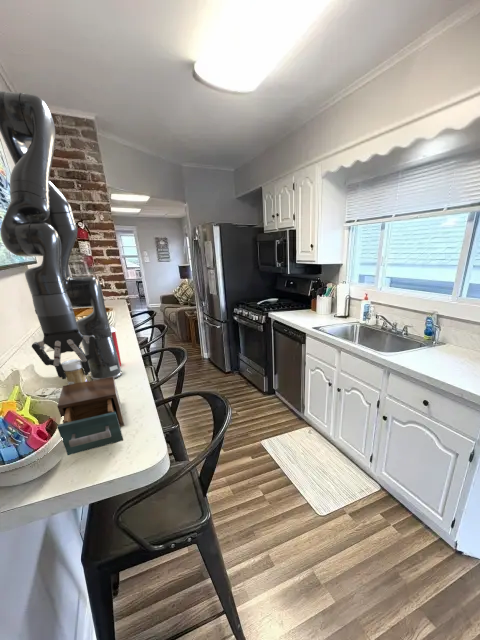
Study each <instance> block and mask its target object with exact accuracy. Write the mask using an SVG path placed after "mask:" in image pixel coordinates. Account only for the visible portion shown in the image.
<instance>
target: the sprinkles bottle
mask: <svg viewBox="0 0 480 640" xmlns="http://www.w3.org/2000/svg"><path fill="white" fill-rule="evenodd" d="M61 364H62V368H63V370H64V372H65V374H66V380H67V381H66V382H67V385H70V384H76V383H81V382H87V381H88V379H87V377H86V376H87V375H85V372H84V369H83V366H82V360H81V359H80V358H79V359H78V358H76V359H69V360H65V361H63V362H61Z"/></svg>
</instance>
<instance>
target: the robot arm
mask: <svg viewBox="0 0 480 640" xmlns="http://www.w3.org/2000/svg"><path fill="white" fill-rule="evenodd" d="M54 121H55V120H54V117H53V116H52V113H51V111H50V108H49V107H48V105H47V104H46V102H45V101H44V100H43V98H41V97H40V96H38V95H36V94H33V93H27V92H17V91H16V92H15V91H6V90H0V135H1V137H2V140H3V142H4V144H5V146H6V149H7V150H8V152H9V155H10V157H11V159H12V161H13V164H14V166H13V168H12V170H11V172H10V176H9V195H10V196H9V197H10V198H9V200H10V202H9V205H8V207H7V209H6V211H5V214H4V217H3V219H2V223H1V225H0V238H1V241H2V243H3V245H4V247H5V248H6V249H7V250H8V252H10V253H11V254H12V255H14V256H18V257H42V261H41V264H40V265H37V266H35V267H30V268H27V269H26V270H25V271H24V277H25V281H26V283H27V285H28V289H29V292H30V295H31V298H32V304H33V308H34V312H35V314H36V317H37V319H38V322H39V325H40V328H41V331H42V333H43V338H42V340H39V341H34V342H32V345H31V348H32V350H33V351H34V352H35V353H36V355H37V356H38V357H39V359H40V360H41V362H42V363H43V364H44V365H45V366H53V367H54V368H55V371H56V374H57V377H59V378H61V379H62V380H67V377H66V374H65V372H64V370H63V368H62V362H61V360H62V359H61V358H62V354H65V353H73V352H74V353H75V354H76V356H77V357H78V358H79V360H81V361H82V366H83V370H84V373H85V376H89V373H90V376H91V381H92V380H98V379H103V378H109V377H114V379H116V378H119V377H121V375H122V374H123V371H122V368H121V366H120V364H119V360H118V356H117V352H116V348H115V345H114V341H113V337H112V333H111V329H110V326H111V325H110V321H109V317H108V313H107V310H106V304H105V299H104V294H103V293H104V292H103V289H102V286H101V283H100V281H99V280H98V278H97V277H96V276H73V277H72V276H71V275H70V271H69V269H70V268H69V262H70V257H71V253H72V250H73V248H74V246H75V243H76V240H77V236H78V226H77V223H76V220H75V219H76V218H75V216H74V212H73V210H72V207H71V204H70V202H69V201H68V199H67V197H65V196H64V194H63V193H62V191H60V190H59V189H58V188H57V187H56V186H55V185H54V183H53V182H51V180H50V175H51V170H52V165H53V158H54V151H55V145H56V126H55V122H54ZM26 143H29V146H28V147H27V144H26ZM80 308H81V309H83V308H92V312H91V313H89V314H88V315H87V316H85V317H82V318H79V319H78V320H77V318H76V315H75V312H74V309H80ZM45 345H46V346H48V347H49V348H50V349H51V350H53V359H52V358H51V357H49V355H48V353H47V352H46V351H45V349H46V346H45ZM81 346H82V348H83V349H82V348H81Z"/></svg>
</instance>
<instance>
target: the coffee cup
mask: <svg viewBox="0 0 480 640" xmlns="http://www.w3.org/2000/svg"><path fill="white" fill-rule="evenodd" d="M110 329H111V333H112V337H113V341H114V345H115V348H116V352H117V356H118V360H119V364H120V367H122V361H121V360H122V359H121V355H120V349H119V344H118V339H117V329H116V328H115V327H114V326H113V325H110Z"/></svg>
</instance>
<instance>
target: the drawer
mask: <svg viewBox="0 0 480 640" xmlns="http://www.w3.org/2000/svg"><path fill="white" fill-rule="evenodd" d="M121 429H122V428H121V426H119V422H118V418H117V415H116V412H115V409H114V406H113V402H112V398H109V399H104V400H100V401H95V402H90V403H85V404H81V405H76V406H71V407H66V411H65V416H64V420H63V421H62V423H59V424H57V430H58V432H59V435H60V438H61V437H62V438H63V441H62V443H63V447H64V449H65V452H66V454H67V456H71V455H75V454H79V453H82V452H86V451H89V450H94V449H97V448H100V447H105V446H108V445H112V444H116V443H119V442H123V441H124V436H123V434H122V430H121ZM62 438H61V439H62Z"/></svg>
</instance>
